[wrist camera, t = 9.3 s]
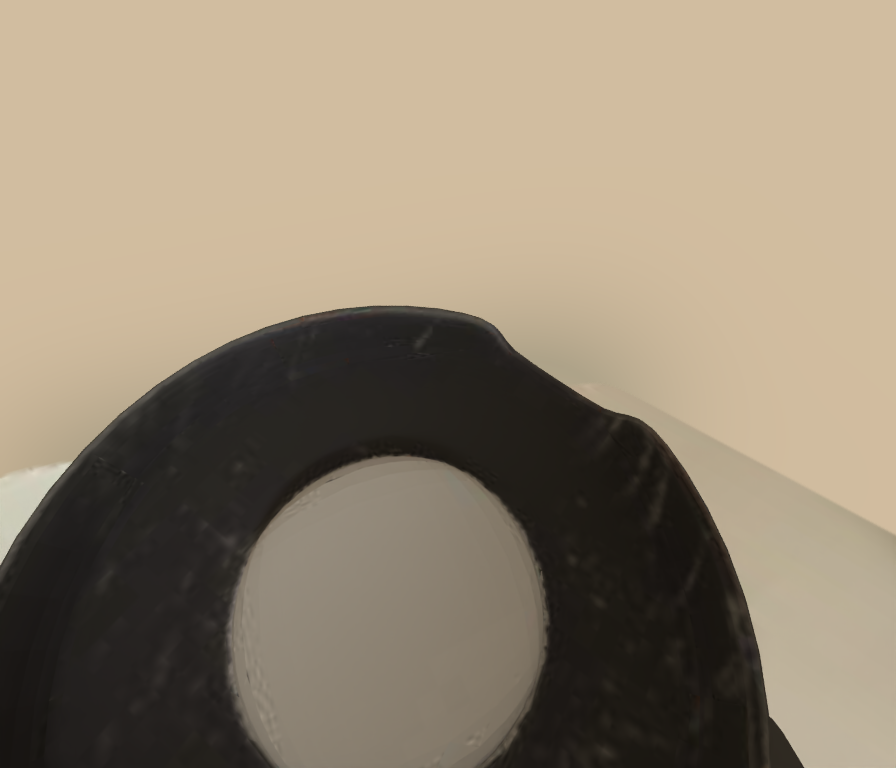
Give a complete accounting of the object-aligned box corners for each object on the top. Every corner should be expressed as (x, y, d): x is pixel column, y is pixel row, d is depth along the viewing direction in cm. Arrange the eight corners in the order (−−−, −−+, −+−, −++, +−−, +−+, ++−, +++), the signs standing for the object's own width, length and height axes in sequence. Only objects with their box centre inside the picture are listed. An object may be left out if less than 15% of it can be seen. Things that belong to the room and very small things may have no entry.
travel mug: (320, 742, 19) (-512, 1784, 2) (322, 557, 23) (69, 306, 6) (490, 711, 20) (1018, 1161, 3) (465, 540, 24) (626, 285, 7)
